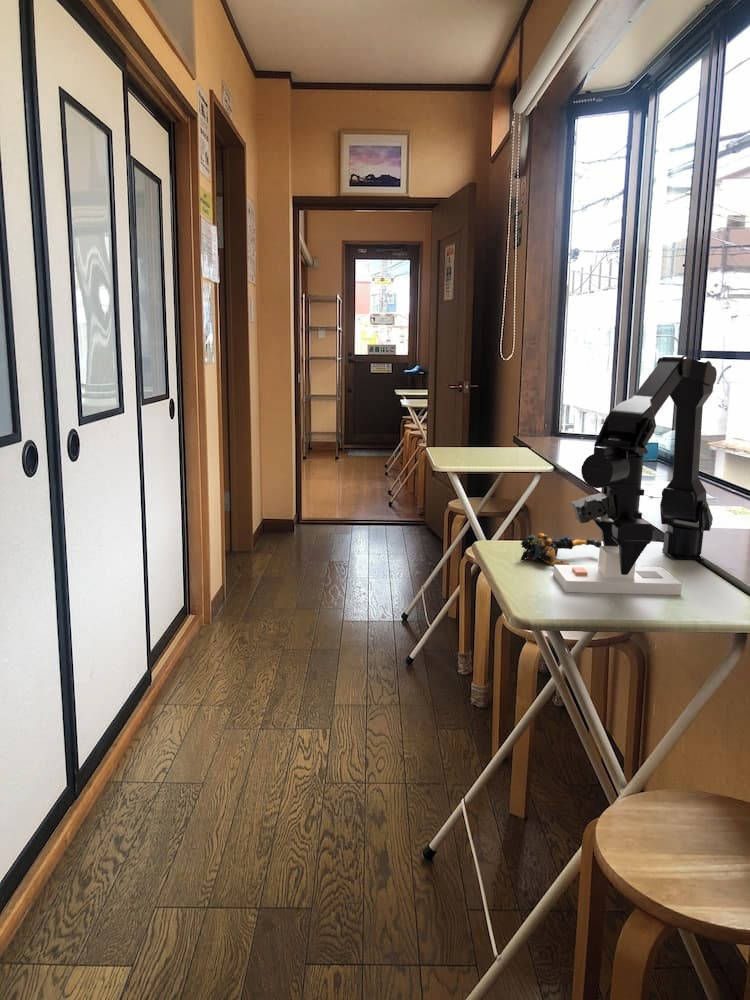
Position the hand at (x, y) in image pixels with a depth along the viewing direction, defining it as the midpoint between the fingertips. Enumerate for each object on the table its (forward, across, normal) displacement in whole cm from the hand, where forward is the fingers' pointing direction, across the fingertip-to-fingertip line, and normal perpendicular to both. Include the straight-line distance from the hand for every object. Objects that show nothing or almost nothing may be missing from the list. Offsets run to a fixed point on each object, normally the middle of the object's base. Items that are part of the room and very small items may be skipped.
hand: (616, 566), depth 146 cm
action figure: (+4, -16, -7) cm, 18 cm away
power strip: (+3, 0, 0) cm, 3 cm away
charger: (+3, 0, 0) cm, 3 cm away
